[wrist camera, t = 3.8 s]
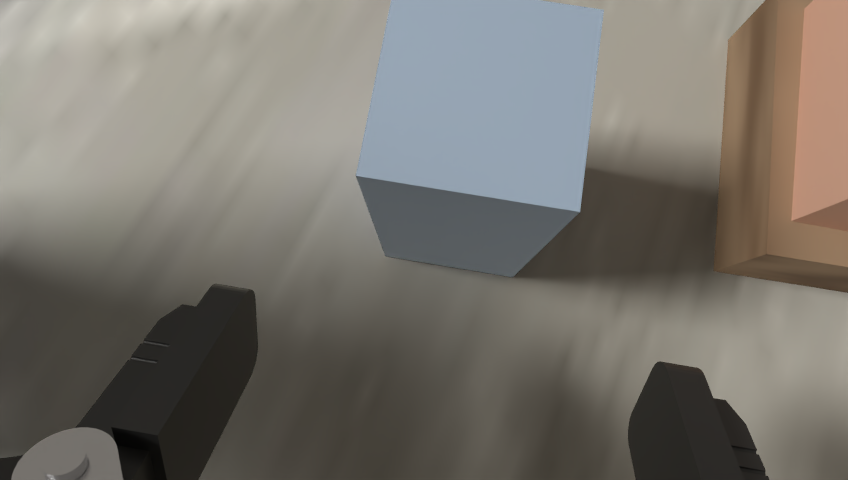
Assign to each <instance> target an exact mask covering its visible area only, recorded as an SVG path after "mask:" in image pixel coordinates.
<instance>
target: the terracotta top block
mask: <svg viewBox="0 0 848 480" xmlns="http://www.w3.org/2000/svg"><path fill="white" fill-rule="evenodd" d="M791 221H794V222H800V223H805V224H811V225H816V226H822V227H827V228H833V229H838V230H844V231H848V0H813V1H812V2H811V3H810V4H809V5H808V6H807V7H806V8H804V23H803V39H802V56H801V72H800V88H799V105H798V121H797V138H796V154H795V170H794V187H793V203H792V219H791Z"/></svg>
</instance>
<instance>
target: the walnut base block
mask: <svg viewBox="0 0 848 480" xmlns="http://www.w3.org/2000/svg"><path fill="white" fill-rule="evenodd" d="M812 1H813V0H765V1H764V3H763V4H762V5H761V6H760V7H759V8H758V9H757V10H756V11H755V12H754V13H753V14H752V15H751V16H750V17H749V18H748V20H747V21H746V22H745V23H744V24H743V25H742V26H741V27H740V28H739V29H738V30H737V31H736V32H735V33H734V34H733V36H732V37H731V38H730V39H729V40H728V54H727V69H726V85H725V101H724V116H723V132H722V148H721V163H720V179H719V194H718V210H717V226H716V241H715V257H714V271H716V272H722V273H729V274H735V275H741V276H747V277H754V278H760V279H766V280H772V281H779V282H785V283H791V284H797V285H803V286H810V287H816V288H822V289H828V290H835V291H841V292H847V293H848V231H844V230H838V229H833V228H827V227H822V226H816V225H811V224H805V223H800V222H794V221H791V219H792V203H793V187H794V170H795V154H796V138H797V121H798V105H799V88H800V72H801V56H802V39H803V23H804V8H806V7H807V6H808V5H809V4H810V3H811V2H812Z"/></svg>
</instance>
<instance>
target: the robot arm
mask: <svg viewBox="0 0 848 480" xmlns="http://www.w3.org/2000/svg"><path fill="white" fill-rule="evenodd" d="M257 350H258V340H257V322H256V304H255V294H254V292H253V290H250V289H244V288H238V287H232V286H226V285H220V284H214V285H212V286H211V287H210V288H209V290H208V291H207V293H206V294H205V295H204V297H203V298H202V300H201V301H200V302H199V304H198V305H197V307H194V306H189V305H181V306H180V307H178V308H177V309H175V310H174V311H172V312H171V313H169V314H168V315H166V316H164V317H163V318H161V319H160V320H159V321H158V322H157V324H156V325H155V326H154V327H153V329H152V330H151V331H150V333H149V334H148V335H147V336H146V338H145V339H144V343H143V344H140V346H139V347H138V348H137V349H136V351H135V352H134V353H133V355H132V357H131V360H128V361H127V362H126V364H125V365H124V366H123V368H122V369H121V370H120V371H119V373H118V374H117V375H116V377H115V378H114V379H113V380H112V382H111V383H110V384H109V386H108V387H107V388H106V390H105V391H104V392H103V393H102V395H101V396H100V397H99V399H98V400H97V401H96V403H95V404H94V405H93V406H92V408H91V409H90V410H89V412H88V413H87V414H86V415H85V417H84V418H83V419H82V421H81V422H80V423H79V424H78V425H77V426H76V427H75V428H71V429H67V430H63V431H60V432H58V433H55V434H53V435H50V436H48V437H46V438H45V439H43V440H41V441H40V442H38V443H37V444H35V445H34V446H33V447H32V448H30V449H29V450H28V451H27V452H26V453H25V454H24V455H22V456H16V457H9V458H0V480H198V479H199V477H200V475H201V473H202V471H203V469H204V467H205V465H206V463H207V461H208V459H209V457H210V455H211V454H212V452H213V450H214V448H215V446H216V444H217V442H218V440H219V438H220V436H221V434H222V432H223V430H224V428H225V426H226V424H227V422H228V420H229V418H230V416H231V414H232V412H233V410H234V408H235V406H236V404H237V402H238V400H239V398H240V396H241V394H242V392H243V390H244V389H245V387H246V385H247V383H248V381H249V379H250V377H251V374H252V372H253V369H254V366H255V362H256V357H257ZM628 441H629V448H630V453H631V458H632V463H633V468H634V472H635V477H636V480H769V478H768V476H765V468H764V466H763V463H762V461H761V459H760V456H759V455H757V454H756V450H757V449H756V447H755V445H754V442H753V440H752V437H751V435H750V433H749V430H748V428H747V426H746V424H745V423H744V421H743V420H742V419H741V418H740V417H739V416H738V414H737V413H736V412H735V411H734V410H733V409H732V407H731V406H730V405H729V404H728V403H727V401H726V400H720V399H715V398H713V396H712V394H711V391H710V389H709V386H708V383H707V381H706V378H705V376H704V373H703V372H702V370H700V369H699V368H695V367H689V366H683V365H677V364H672V363H666V362H657V363H656V364H655V365H654V367H653V369H652V371H651V373H650V375H649V377H648V379H647V381H646V383H645V386H644V388H643V390H642V392H641V394H640V396H639V398H638V401H637V403H636V405H635V407H634V409H633V411H632V414H631V417H630V421H629V429H628Z"/></svg>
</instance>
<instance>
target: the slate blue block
mask: <svg viewBox="0 0 848 480" xmlns="http://www.w3.org/2000/svg"><path fill="white" fill-rule="evenodd" d="M603 12H604V10H601V9H595V8H588V7H581V6H574V5H568V4H561V3H554V2H548V1H541V0H391V4H390V9H389V14H388V19H387V24H386V29H385V34H384V39H383V44H382V49H381V53H380V58H379V63H378V68H377V73H376V78H375V83H374V88H373V93H372V98H371V103H370V108H369V113H368V118H367V123H366V128H365V133H364V138H363V143H362V148H361V153H360V158H359V163H358V168H357V173H356V177H357V180H358V183H359V186H360V188H361V191H362V194H363V196H364V199H365V202H366V205H367V207H368V210H369V213H370V215H371V218H372V221H373V224H374V226H375V229H376V232H377V234H378V237H379V240H380V243H381V245H382V248H383V251H384V253H385V256H388V257H394V258H400V259H406V260H412V261H418V262H424V263H430V264H436V265H442V266H448V267H454V268H460V269H466V270H472V271H478V272H484V273H490V274H496V275H502V276H508V277H514V276H515V275H516V274H517V273H518V272H519V271H520V270H521V269H522V268H523V267H524V266H525V265H526V264H527V263H528V262H529V261H530V260H531V259H532V258H533V257H534V256H535V255H536V254H537V253H538V252H539V251H540V250H541V249H542V248H543V247H544V246H545V245H547V244H548V243H549V242H550V241H551V240H552V239H553V238H554V237H555V236H556V235H557V234H558V233H559V232H560V231H561V230H562V229H563V228H564V227H565V226H566V225H567V224H568V223H569V222H570V221H571V220H572V219H573V218H574V217H575V216H576V215H577V214H578V213H580V208H581V200H582V191H583V183H584V174H585V166H586V157H587V149H588V140H589V132H590V123H591V114H592V106H593V97H594V89H595V80H596V72H597V63H598V55H599V46H600V38H601V29H602V21H603Z"/></svg>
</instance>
